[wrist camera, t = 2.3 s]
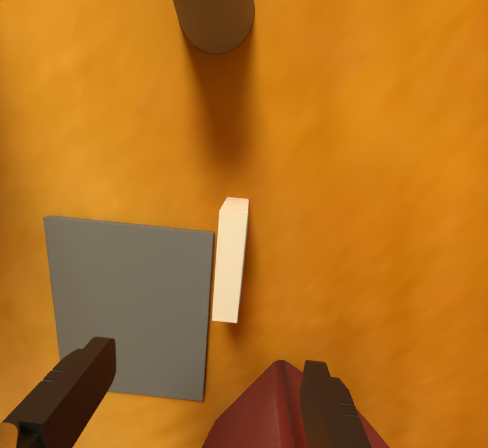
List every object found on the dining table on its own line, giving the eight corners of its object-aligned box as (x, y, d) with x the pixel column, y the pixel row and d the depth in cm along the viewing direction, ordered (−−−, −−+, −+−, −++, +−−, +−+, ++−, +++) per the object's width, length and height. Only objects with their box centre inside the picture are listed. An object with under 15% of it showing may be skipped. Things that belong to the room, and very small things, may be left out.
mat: (49, 215, 25) (43, 217, 24) (214, 231, 25) (213, 234, 24) (68, 380, 30) (63, 386, 29) (203, 394, 30) (202, 401, 29)
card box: (227, 196, 24) (219, 210, 18) (250, 199, 24) (249, 213, 18) (220, 283, 26) (211, 320, 20) (241, 285, 26) (238, 323, 20)
